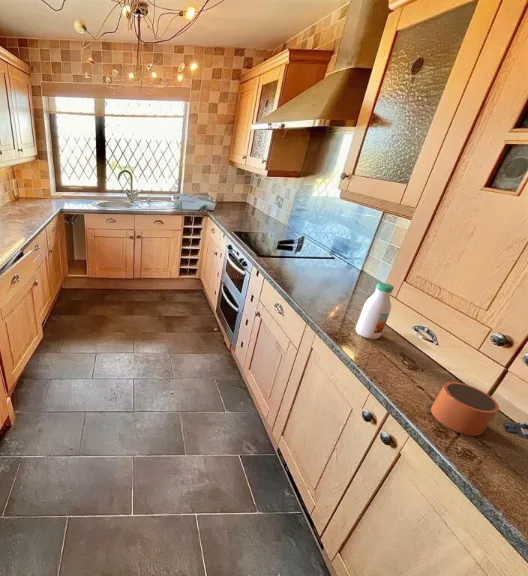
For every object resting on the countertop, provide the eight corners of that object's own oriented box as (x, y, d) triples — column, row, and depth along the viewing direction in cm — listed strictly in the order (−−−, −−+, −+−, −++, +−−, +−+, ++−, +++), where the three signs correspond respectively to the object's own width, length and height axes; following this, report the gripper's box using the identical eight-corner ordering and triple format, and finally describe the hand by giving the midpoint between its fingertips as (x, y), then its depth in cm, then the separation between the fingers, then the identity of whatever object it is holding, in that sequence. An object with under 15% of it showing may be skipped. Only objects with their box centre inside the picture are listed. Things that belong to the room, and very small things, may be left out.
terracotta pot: (482, 418, 80) (498, 395, 76) (483, 443, 73) (500, 419, 70) (432, 398, 86) (444, 376, 82) (429, 419, 80) (442, 397, 76)
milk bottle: (362, 339, 110) (381, 290, 102) (350, 327, 117) (367, 280, 108) (385, 339, 110) (405, 290, 101) (371, 327, 117) (389, 280, 108)
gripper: (650, 416, 52) (532, 410, 69) (568, 413, 53) (470, 408, 69) (673, 466, 50) (545, 447, 66) (587, 462, 50) (481, 445, 67)
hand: (507, 427), depth 68 cm, fingers closed
